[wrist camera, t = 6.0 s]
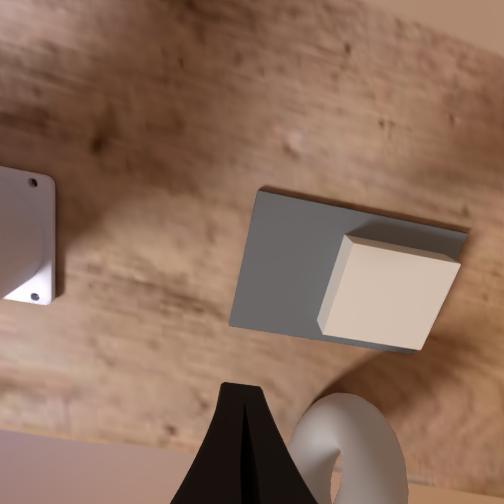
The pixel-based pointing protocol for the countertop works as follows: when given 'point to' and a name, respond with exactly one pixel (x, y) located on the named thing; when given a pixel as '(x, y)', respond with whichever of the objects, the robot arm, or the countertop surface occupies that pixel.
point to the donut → (349, 452)
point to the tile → (385, 292)
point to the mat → (313, 261)
